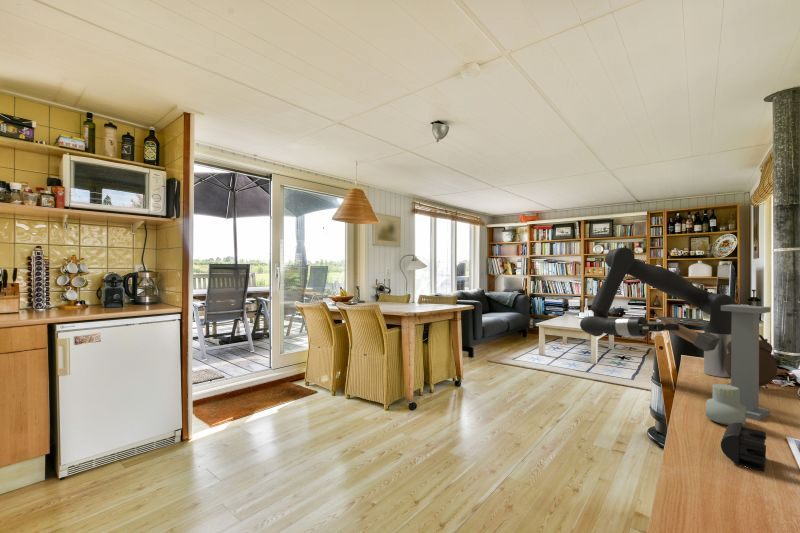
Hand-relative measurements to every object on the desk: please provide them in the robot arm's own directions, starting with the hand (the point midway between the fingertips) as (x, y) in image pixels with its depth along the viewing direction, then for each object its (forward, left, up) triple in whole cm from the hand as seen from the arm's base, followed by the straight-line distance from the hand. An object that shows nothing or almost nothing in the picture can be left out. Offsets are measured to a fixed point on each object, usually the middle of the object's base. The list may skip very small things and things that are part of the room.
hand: (681, 326), depth 136 cm
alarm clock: (-28, +11, -23) cm, 38 cm away
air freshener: (+21, +20, -23) cm, 37 cm away
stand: (+7, +20, -23) cm, 31 cm away
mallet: (0, +1, -4) cm, 4 cm away
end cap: (+44, +30, -23) cm, 58 cm away
